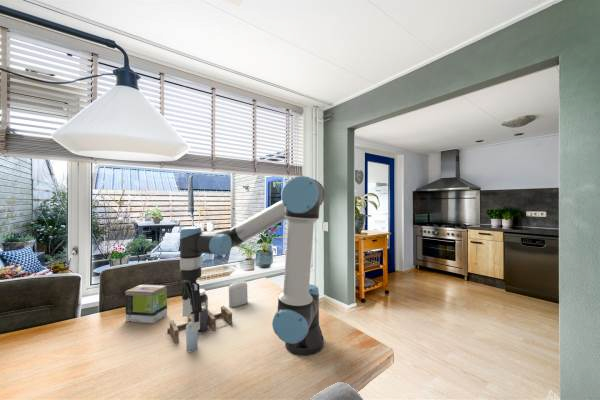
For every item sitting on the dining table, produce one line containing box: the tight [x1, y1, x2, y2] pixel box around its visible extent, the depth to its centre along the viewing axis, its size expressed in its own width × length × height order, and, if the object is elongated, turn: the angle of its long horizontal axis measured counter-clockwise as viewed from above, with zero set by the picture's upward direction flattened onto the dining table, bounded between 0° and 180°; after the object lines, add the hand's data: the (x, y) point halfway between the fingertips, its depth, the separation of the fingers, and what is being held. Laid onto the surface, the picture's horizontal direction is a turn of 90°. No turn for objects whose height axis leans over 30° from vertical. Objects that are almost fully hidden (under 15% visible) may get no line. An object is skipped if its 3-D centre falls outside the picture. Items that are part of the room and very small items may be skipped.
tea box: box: [124, 284, 168, 324], centre depth 121 cm, size 15×10×15 cm, turn 80°
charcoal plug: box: [198, 306, 209, 334], centre depth 109 cm, size 4×4×10 cm
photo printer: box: [228, 280, 249, 308], centre depth 135 cm, size 10×4×12 cm, turn 127°
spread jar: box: [188, 288, 209, 316], centre depth 125 cm, size 12×11×12 cm
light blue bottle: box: [185, 321, 199, 352], centre depth 96 cm, size 4×4×10 cm
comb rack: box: [166, 305, 233, 344], centre depth 111 cm, size 11×26×5 cm, turn 128°
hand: (190, 322), depth 96 cm, fingers open, 13 cm apart
